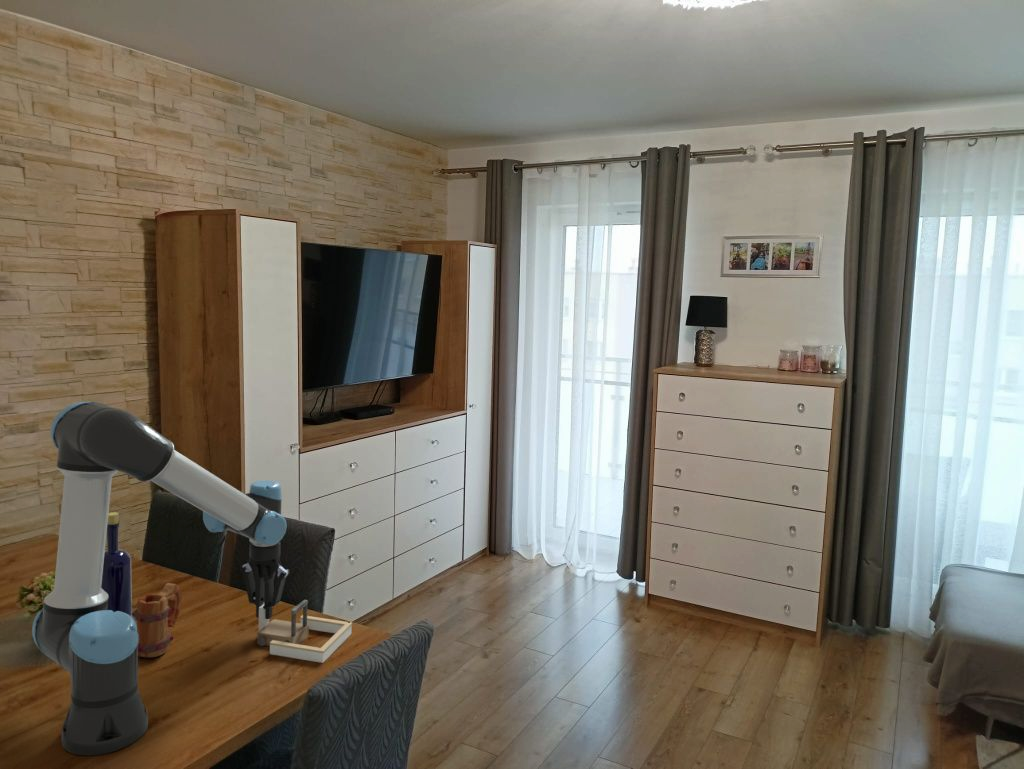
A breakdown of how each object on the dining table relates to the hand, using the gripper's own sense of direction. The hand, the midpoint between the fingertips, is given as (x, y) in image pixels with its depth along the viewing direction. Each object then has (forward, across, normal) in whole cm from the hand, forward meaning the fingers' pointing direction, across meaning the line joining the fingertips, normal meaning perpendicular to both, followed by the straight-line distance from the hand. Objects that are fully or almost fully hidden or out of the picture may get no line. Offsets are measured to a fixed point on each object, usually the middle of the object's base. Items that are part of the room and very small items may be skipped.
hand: (263, 629), depth 193 cm
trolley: (+2, -6, 0) cm, 6 cm away
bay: (+2, -13, 0) cm, 13 cm away
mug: (+2, +20, +14) cm, 24 cm away
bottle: (+2, +39, +7) cm, 40 cm away
